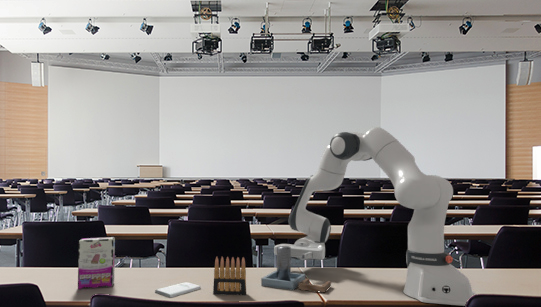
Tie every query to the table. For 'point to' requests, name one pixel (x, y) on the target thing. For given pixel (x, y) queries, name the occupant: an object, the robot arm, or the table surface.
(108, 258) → the candy bar box
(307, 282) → the stop seat
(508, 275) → the table surface
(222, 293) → the ammunition clip
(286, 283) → the tray
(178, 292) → the external hard drive
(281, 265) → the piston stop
